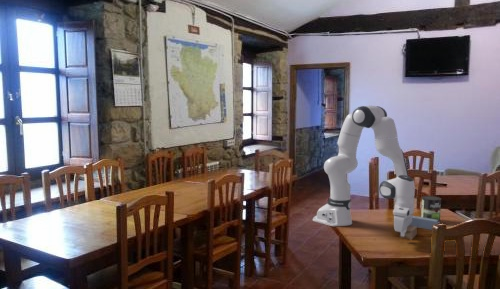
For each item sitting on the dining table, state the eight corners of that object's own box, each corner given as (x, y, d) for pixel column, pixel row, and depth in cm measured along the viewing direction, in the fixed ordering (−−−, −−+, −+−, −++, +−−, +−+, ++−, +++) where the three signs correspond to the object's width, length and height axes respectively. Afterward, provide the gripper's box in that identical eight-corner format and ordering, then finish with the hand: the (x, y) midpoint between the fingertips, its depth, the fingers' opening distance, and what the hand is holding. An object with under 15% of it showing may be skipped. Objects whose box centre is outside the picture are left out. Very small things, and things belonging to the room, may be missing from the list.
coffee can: (444, 223, 227) (445, 199, 226) (427, 224, 225) (429, 200, 224) (432, 218, 237) (433, 195, 236) (416, 219, 235) (418, 196, 234)
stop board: (397, 223, 227) (398, 215, 226) (399, 222, 230) (400, 213, 229) (435, 230, 215) (436, 221, 214) (437, 228, 218) (437, 219, 218)
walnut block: (399, 237, 205) (399, 229, 204) (404, 232, 213) (405, 224, 212) (411, 240, 201) (412, 231, 201) (416, 234, 209) (417, 226, 209)
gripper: (403, 203, 206) (402, 229, 208) (391, 212, 190) (390, 240, 191) (416, 205, 203) (415, 231, 204) (405, 214, 186) (404, 242, 188)
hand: (403, 235), depth 198 cm, fingers closed
